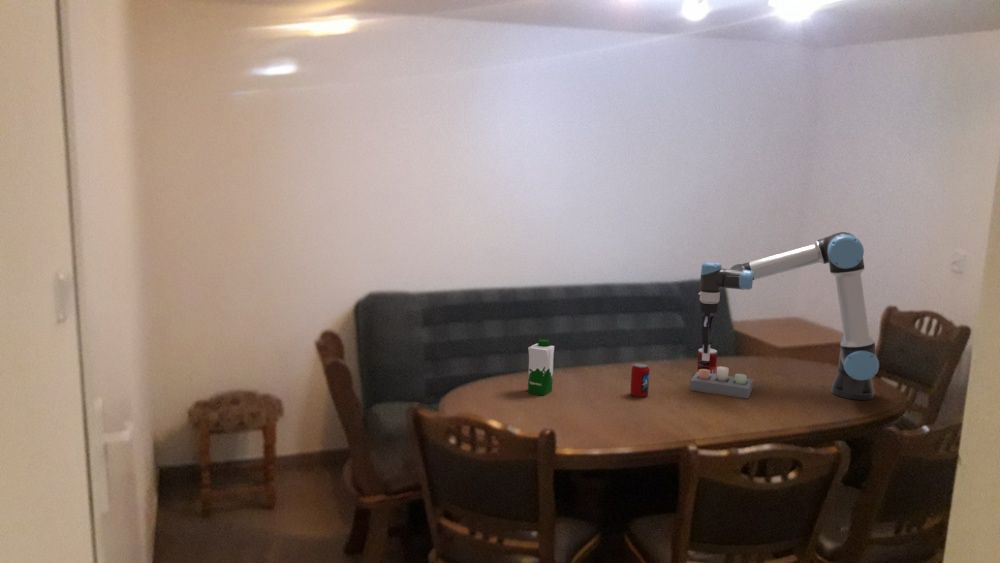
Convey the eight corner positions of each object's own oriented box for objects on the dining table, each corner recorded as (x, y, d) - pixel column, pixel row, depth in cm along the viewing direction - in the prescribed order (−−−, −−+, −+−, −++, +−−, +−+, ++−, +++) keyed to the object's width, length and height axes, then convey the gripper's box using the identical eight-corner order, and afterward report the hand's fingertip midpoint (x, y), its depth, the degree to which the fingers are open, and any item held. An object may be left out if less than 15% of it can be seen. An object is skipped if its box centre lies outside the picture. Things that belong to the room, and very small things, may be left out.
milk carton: (555, 390, 300) (556, 340, 296) (545, 397, 292) (547, 345, 288) (534, 387, 304) (536, 337, 300) (524, 393, 296) (525, 342, 292)
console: (752, 388, 308) (753, 379, 307) (747, 398, 295) (748, 388, 295) (696, 381, 317) (697, 371, 316) (689, 390, 304) (690, 380, 304)
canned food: (713, 373, 329) (715, 348, 327) (717, 378, 321) (718, 353, 319) (695, 372, 329) (697, 347, 328) (698, 377, 321) (699, 352, 320)
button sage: (746, 387, 304) (747, 374, 303) (745, 390, 300) (746, 377, 299) (735, 385, 306) (735, 373, 305) (733, 388, 302) (734, 375, 301)
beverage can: (648, 398, 293) (649, 367, 291) (630, 397, 294) (631, 366, 292) (648, 393, 299) (650, 363, 297) (630, 391, 301) (632, 361, 299)
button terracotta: (710, 381, 310) (711, 369, 309) (708, 384, 306) (709, 372, 305) (699, 380, 312) (699, 368, 311) (697, 383, 308) (697, 371, 307)
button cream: (728, 379, 307) (729, 367, 306) (726, 382, 303) (727, 370, 302) (717, 378, 308) (718, 365, 308) (715, 380, 304) (716, 368, 304)
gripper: (702, 298, 311) (699, 355, 315) (696, 303, 299) (692, 363, 303) (721, 300, 308) (718, 357, 311) (716, 305, 296) (712, 365, 300)
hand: (705, 360), depth 307 cm, fingers closed
